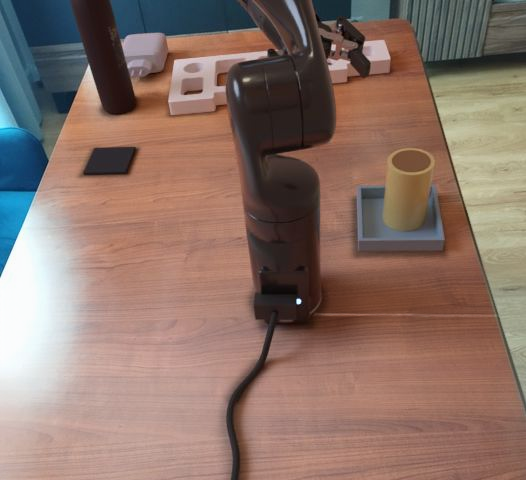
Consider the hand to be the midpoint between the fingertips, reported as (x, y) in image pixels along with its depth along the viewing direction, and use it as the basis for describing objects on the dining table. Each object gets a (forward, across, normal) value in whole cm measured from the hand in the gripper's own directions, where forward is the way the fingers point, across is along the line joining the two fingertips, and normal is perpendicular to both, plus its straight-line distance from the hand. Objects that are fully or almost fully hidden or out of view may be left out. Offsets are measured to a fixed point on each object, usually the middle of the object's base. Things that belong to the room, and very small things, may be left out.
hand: (344, 84), depth 85 cm
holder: (-28, +9, +29) cm, 41 cm away
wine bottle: (-42, -21, +30) cm, 56 cm away
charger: (-52, -11, +35) cm, 64 cm away
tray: (+18, -1, +12) cm, 22 cm away
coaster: (-26, -31, +24) cm, 47 cm away
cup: (+18, 0, +12) cm, 21 cm away
